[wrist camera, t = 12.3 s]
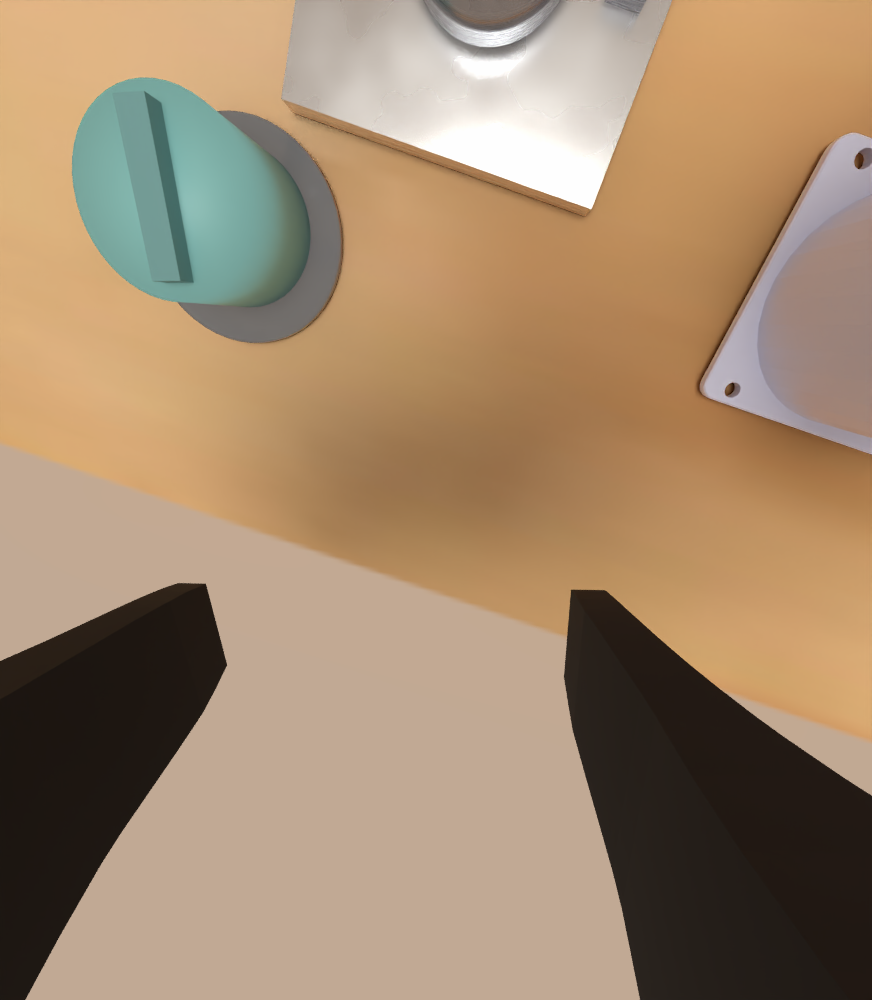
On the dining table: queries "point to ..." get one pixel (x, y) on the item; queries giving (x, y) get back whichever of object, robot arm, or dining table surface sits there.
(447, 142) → the post plinth
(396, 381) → the dining table surface
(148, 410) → the dining table surface
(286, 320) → the coaster
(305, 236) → the cap
